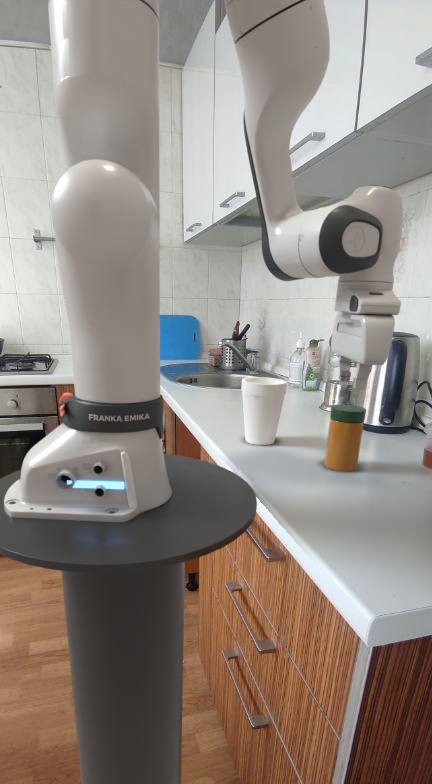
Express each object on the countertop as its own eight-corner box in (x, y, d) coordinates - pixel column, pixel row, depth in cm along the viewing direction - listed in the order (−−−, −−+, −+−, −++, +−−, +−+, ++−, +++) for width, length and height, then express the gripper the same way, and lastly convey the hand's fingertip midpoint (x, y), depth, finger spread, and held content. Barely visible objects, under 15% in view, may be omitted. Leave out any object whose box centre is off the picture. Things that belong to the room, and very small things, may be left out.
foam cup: (232, 435, 104) (235, 377, 100) (270, 433, 107) (275, 376, 103) (248, 448, 96) (252, 385, 91) (288, 445, 99) (294, 384, 94)
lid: (337, 422, 81) (339, 411, 81) (324, 414, 87) (325, 404, 86) (370, 422, 82) (372, 411, 82) (355, 414, 88) (356, 404, 87)
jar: (331, 471, 85) (339, 414, 81) (319, 461, 90) (326, 407, 86) (362, 471, 86) (371, 414, 82) (348, 460, 91) (356, 407, 87)
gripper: (327, 300, 87) (319, 375, 92) (364, 301, 68) (350, 395, 73) (360, 302, 87) (350, 376, 92) (406, 302, 68) (390, 396, 73)
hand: (350, 385), depth 83 cm, fingers open, 7 cm apart
